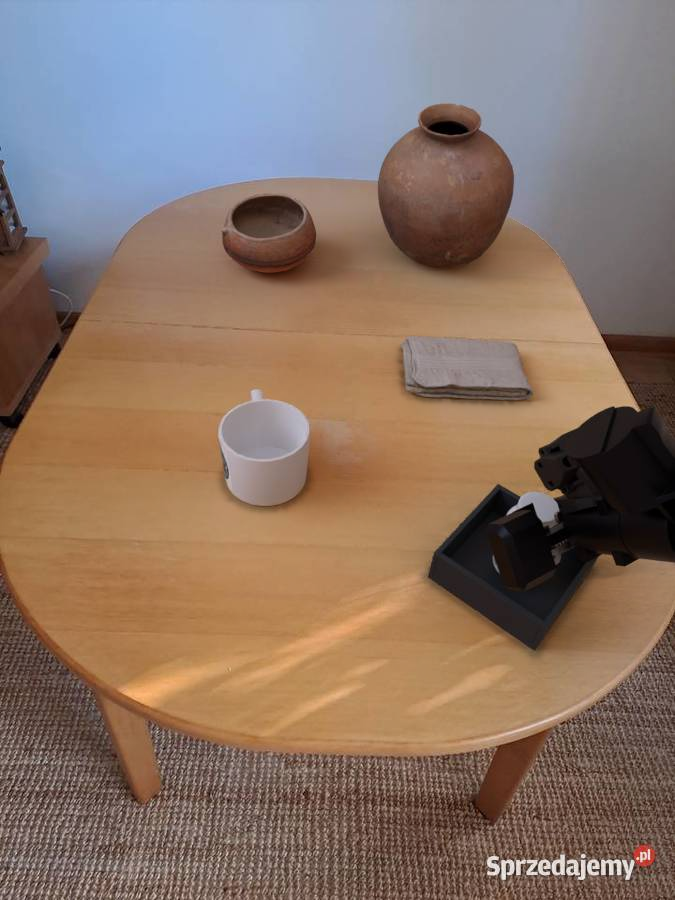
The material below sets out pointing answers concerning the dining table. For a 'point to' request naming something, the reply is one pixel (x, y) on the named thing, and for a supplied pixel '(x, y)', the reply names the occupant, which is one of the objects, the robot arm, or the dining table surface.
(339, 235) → the dining table surface
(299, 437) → the mug
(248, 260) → the bowl
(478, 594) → the black square tray
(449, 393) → the washcloth
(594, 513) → the robot arm
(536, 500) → the pill bottle
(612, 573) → the dining table surface
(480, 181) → the pottery
